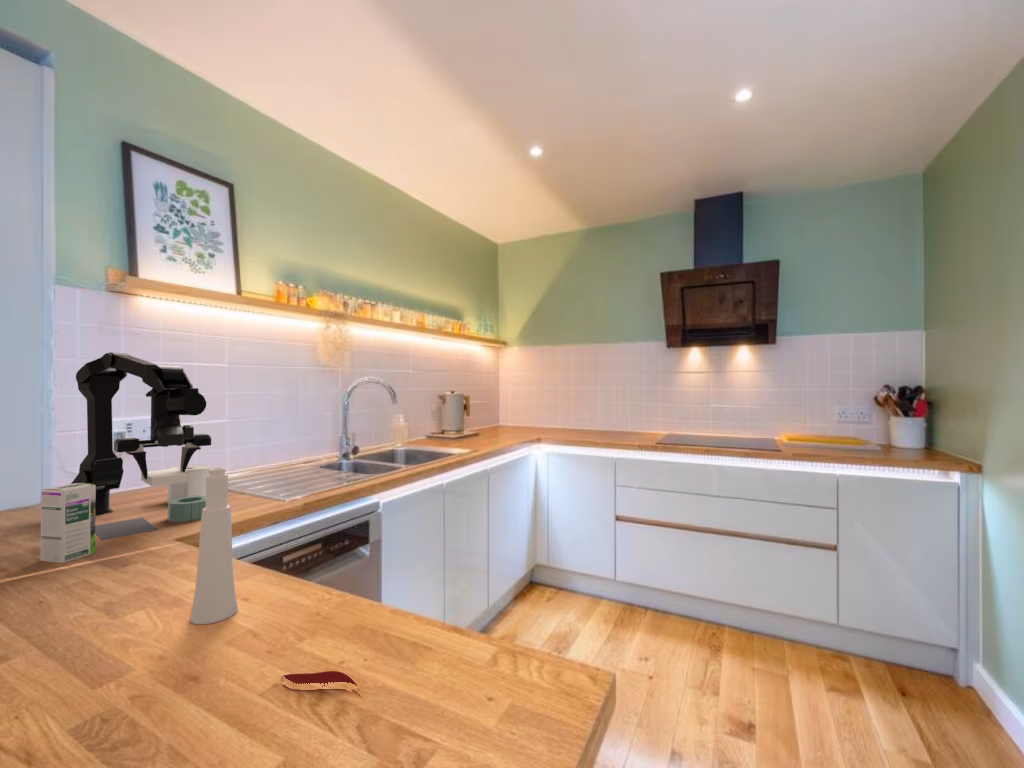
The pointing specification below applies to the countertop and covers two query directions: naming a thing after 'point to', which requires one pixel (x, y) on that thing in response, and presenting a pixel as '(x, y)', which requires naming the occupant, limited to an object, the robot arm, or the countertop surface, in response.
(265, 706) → the countertop surface
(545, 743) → the countertop surface
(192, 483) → the toilet tissue
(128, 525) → the mat
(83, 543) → the syrup box
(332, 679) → the cayenne pepper
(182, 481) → the white rectangular block
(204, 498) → the bowl
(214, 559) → the cosmetic bottle
